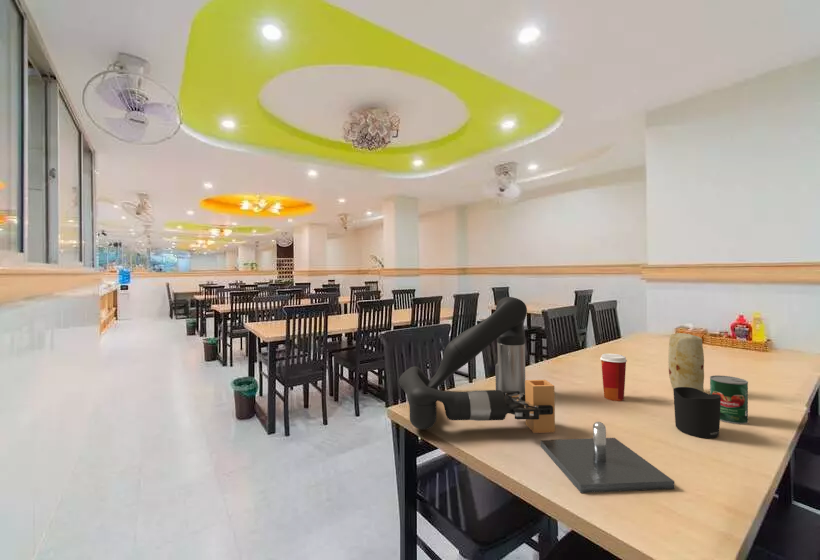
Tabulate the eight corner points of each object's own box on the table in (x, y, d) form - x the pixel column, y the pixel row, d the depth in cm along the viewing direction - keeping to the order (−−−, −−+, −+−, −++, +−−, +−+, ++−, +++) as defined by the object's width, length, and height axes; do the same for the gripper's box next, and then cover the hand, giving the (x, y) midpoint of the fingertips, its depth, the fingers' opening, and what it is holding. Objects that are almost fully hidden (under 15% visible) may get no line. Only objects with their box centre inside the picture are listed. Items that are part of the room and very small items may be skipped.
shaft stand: (580, 492, 65) (580, 443, 65) (540, 446, 83) (540, 407, 83) (674, 489, 66) (673, 440, 66) (614, 443, 84) (614, 405, 84)
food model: (706, 393, 118) (705, 334, 118) (701, 398, 114) (701, 336, 114) (671, 387, 126) (670, 331, 126) (665, 391, 122) (665, 333, 121)
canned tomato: (717, 422, 96) (717, 381, 95) (704, 411, 103) (704, 374, 103) (755, 426, 93) (754, 384, 93) (739, 415, 100) (738, 376, 100)
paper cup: (620, 394, 119) (619, 353, 119) (632, 402, 111) (631, 358, 111) (596, 394, 120) (595, 353, 119) (606, 402, 112) (605, 358, 112)
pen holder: (681, 436, 87) (680, 396, 87) (668, 421, 96) (668, 385, 96) (728, 442, 84) (728, 400, 84) (711, 426, 93) (710, 388, 93)
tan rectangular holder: (533, 432, 91) (533, 386, 90) (525, 423, 96) (525, 380, 96) (555, 432, 91) (554, 385, 91) (545, 423, 96) (545, 379, 96)
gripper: (478, 409, 100) (534, 407, 101) (492, 431, 86) (557, 429, 86) (478, 383, 100) (534, 381, 101) (492, 400, 86) (557, 398, 86)
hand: (545, 403), depth 93 cm, fingers open, 8 cm apart
